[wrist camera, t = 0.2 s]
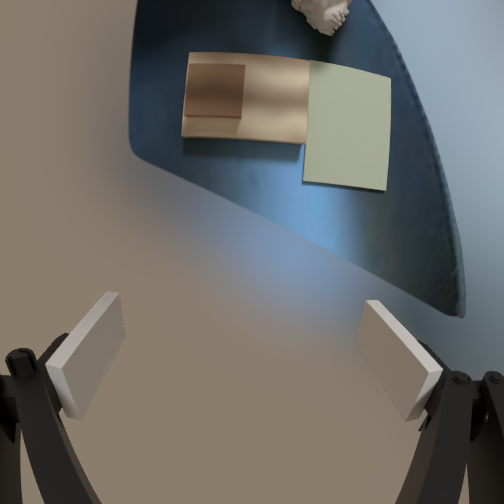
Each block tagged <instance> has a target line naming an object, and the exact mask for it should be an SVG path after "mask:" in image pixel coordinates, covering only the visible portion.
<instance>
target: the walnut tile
mask: <svg viewBox="0 0 504 504" xmlns="http://www.w3.org/2000/svg"><path fill="white" fill-rule="evenodd" d="M245 66H246V65H241V64H215V63H189V69H188V78H187V87H186V97H185V108H184V115H185V116H186V117H201V118H232V119H241V117H242V104H243V91H244V78H245Z"/></svg>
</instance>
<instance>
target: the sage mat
mask: <svg viewBox="0 0 504 504" xmlns="http://www.w3.org/2000/svg"><path fill="white" fill-rule="evenodd" d="M390 121H391V78H387V77H384V76H380V75H377V74H373V73H369V72H366V71H362V70H358V69H353V68H349V67H345V66H340V65H335V64H330V63H325V62H320V61H314V60H310V72H309V96H308V115H307V132H306V144H305V153H304V167H303V180H302V181H311V182H321V183H330V184H339V185H347V186H355V187H363V188H370V189H377V190H384V191H386V183H387V173H388V160H389V145H390Z"/></svg>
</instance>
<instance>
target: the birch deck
mask: <svg viewBox="0 0 504 504" xmlns="http://www.w3.org/2000/svg"><path fill="white" fill-rule="evenodd" d="M189 63H215V64H241V65H246V66H245V78H244V91H243V104H242V117H241V119H232V118H201V117H186V116H185V115H184V108H185V97H186V87H187V78H188V69H189ZM188 69H187V77H186V87H185V97H184V107H183V119H182V132H181V136H182V137H184V138H215V139H237V140H254V141H267V142H278V143H289V144H298V145H303V144H306V132H307V115H308V96H309V72H310V61H308V60H302V59H295V58H287V57H279V56H270V55H259V54H246V53H226V52H189V60H188Z"/></svg>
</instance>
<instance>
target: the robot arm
mask: <svg viewBox="0 0 504 504" xmlns="http://www.w3.org/2000/svg"><path fill="white" fill-rule="evenodd" d="M125 338H126V335H125V328H124V322H123V315H122V307H121V300H120V293H117V292H106V293H105V294H104V295H103V296H102V298H101V299H100V300H99V301H98V302H97V303H96V304H95V305H94V306H93V308H92V309H91V310H90V311H89V312H88V313H87V314H86V316H85V317H84V318H83V319H82V320H81V321H80V323H79V324H78V325H77V326H76V327H75V328H74V330H73V331H72V332H71V333H70V334H68V333H64V334H62V335H61V336H59V337H57V338H56V339H55V340H54V341H53V343H52V344H51V346H49V347H48V348H47V351H45V352H44V353H43V354H42V356H41V357H40V358H39V359H38V361H37V360H36V357H35V354H34V353H33V351H32V350H30V349H28V348H19V349H15V350H13V351H11V352H10V353H9V354H8V355H7V356H6V359H5V362H6V364H7V367H8V369H9V372H10V374H11V376H9V375H8V376H7V375H0V504H23V503H22V492H21V476H20V475H21V474H20V439H21V430H22V434H23V439H24V443H25V446H26V450H27V454H28V457H29V461H30V464H31V467H32V470H33V473H34V476H35V479H36V482H37V485H38V488H39V490H40V493H41V496H42V498H43V501H44V503H45V504H102V503H101V502H100V500H99V498H98V497H97V495H96V493H95V492H94V490H93V488H92V486H91V484H90V482H89V481H88V478H87V476H86V474H85V472H84V471H83V469H82V467H81V464H80V462H79V460H78V458H77V456H76V454H75V452H74V449H73V447H72V445H71V443H70V440H69V438H68V435H67V433H66V431H65V428H64V425H63V423H62V420H61V418H60V415H59V411H60V410H61V408H63V410H64V412H65V414H66V416H67V417H70V418H73V419H78V420H81V421H82V420H83V418H84V416H85V414H86V412H87V410H88V408H89V406H90V404H91V402H92V400H93V398H94V396H95V394H96V392H97V390H98V388H99V386H100V384H101V382H102V380H103V378H104V376H105V375H106V373H107V371H108V369H109V367H110V365H111V363H112V362H113V360H114V358H115V356H116V354H117V352H118V350H119V349H120V347H121V345H122V343H123V341H124V340H125ZM356 344H357V345H358V347H359V349H360V350H361V352H362V353H363V355H364V356H365V358H366V359H367V361H368V363H369V364H370V366H371V367H372V369H373V371H374V372H375V374H376V375H377V377H378V379H379V380H380V382H381V383H382V385H383V387H384V388H385V390H386V391H387V393H388V394H389V396H390V398H391V399H392V401H393V403H394V404H395V406H396V408H397V409H398V411H399V413H400V414H401V416H402V417H403V419H404V421H405V422H406V421H410V420H414V419H418V418H419V417H420V415H421V413H422V411H423V410H424V408H425V410H426V411H427V413H428V415H427V416H426V418H425V420H424V422H423V423H422V425H421V427H420V429H419V430H418V431H421V430H422V431H421V435H420V438H419V442H418V445H417V448H416V451H415V454H414V457H413V460H412V463H411V465H410V468H409V471H408V474H407V476H406V479H405V481H404V484H403V487H402V489H401V492H400V494H399V496H398V498H397V501H396V503H395V504H458V502H459V497H460V493H461V489H462V484H463V479H464V474H465V468H466V462H467V471H468V484H469V504H504V377H503V376H502V375H501V374H500V373H498V372H494V371H488V372H486V373H485V375H484V377H483V379H482V381H472V379H471V378H470V377H469V376H468V375H467V374H466V373H463V372H460V371H451V370H450V369H449V368H448V367H447V366H446V365H445V364H444V363H443V361H441V359H440V358H439V357H437V355H436V354H435V353H434V352H433V351H432V350H431V349H430V348H429V347H428V346H427V345H426V344H424V343H422V342H421V341H416V339H415V338H414V337H413V336H412V335H411V334H410V333H409V332H408V331H407V330H406V329H405V328H404V327H403V326H402V325H401V324H400V323H399V322H398V321H397V319H396V318H395V317H394V316H393V315H392V314H391V313H390V312H389V311H388V310H387V309H386V308H385V307H384V306H383V305H382V304H381V303H380V302H379V301H378V300H372V301H371V300H368V301H366V303H365V307H364V311H363V316H362V320H361V324H360V329H359V333H358V336H357V340H356ZM487 417H488V420H487Z"/></svg>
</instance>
